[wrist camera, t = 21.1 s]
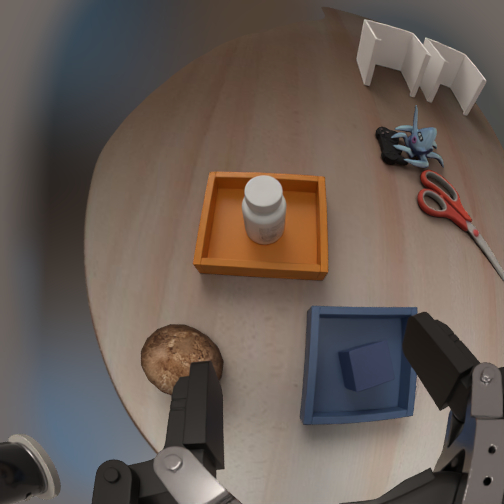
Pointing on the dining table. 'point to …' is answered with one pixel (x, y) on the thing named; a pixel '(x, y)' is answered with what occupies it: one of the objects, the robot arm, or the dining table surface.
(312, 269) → the amber tray
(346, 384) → the blue block
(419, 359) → the robot arm
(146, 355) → the mushroom
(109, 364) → the dining table surface
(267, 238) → the pill bottle
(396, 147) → the figurine
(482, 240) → the scissors
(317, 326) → the blue tray
